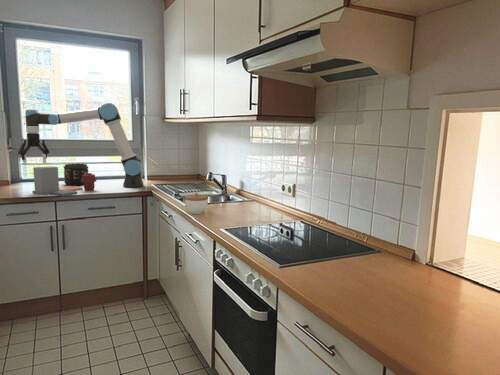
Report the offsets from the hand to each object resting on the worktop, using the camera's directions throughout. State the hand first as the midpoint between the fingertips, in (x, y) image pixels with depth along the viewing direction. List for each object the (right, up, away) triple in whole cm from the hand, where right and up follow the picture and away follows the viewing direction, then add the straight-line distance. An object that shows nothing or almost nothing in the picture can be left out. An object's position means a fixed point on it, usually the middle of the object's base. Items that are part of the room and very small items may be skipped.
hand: (35, 164), depth 253 cm
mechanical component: (+33, -18, +11) cm, 39 cm away
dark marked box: (+11, -14, +37) cm, 41 cm away
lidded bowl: (+118, -30, -51) cm, 132 cm away
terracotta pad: (+17, -18, +10) cm, 27 cm away
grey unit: (+10, -20, -3) cm, 22 cm away
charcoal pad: (+23, -20, -6) cm, 31 cm away
